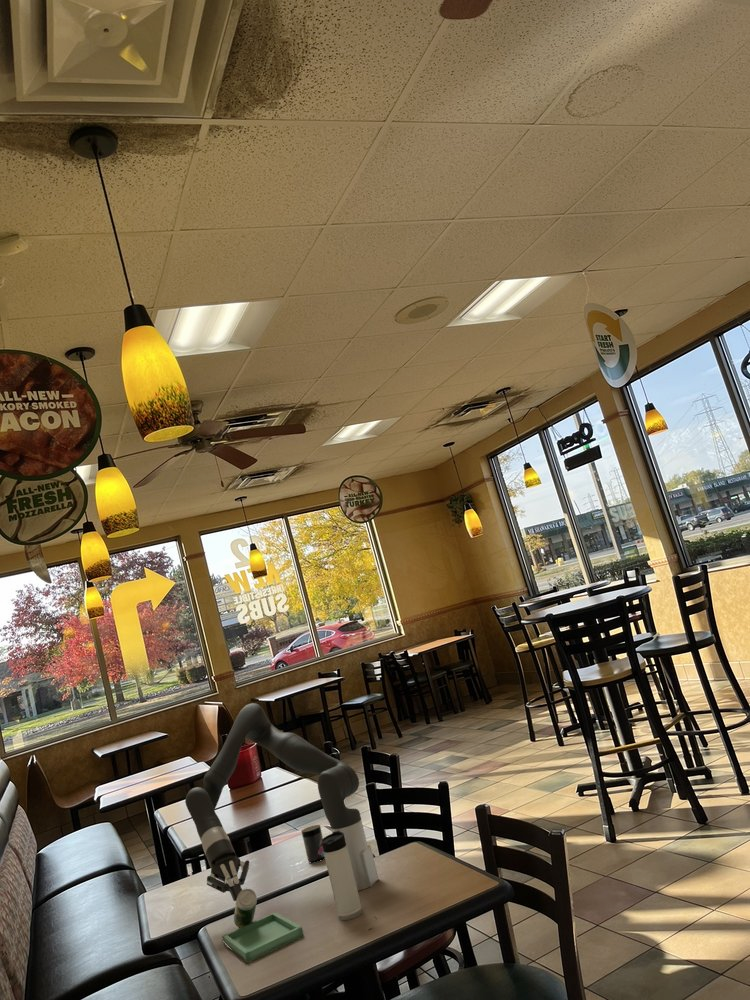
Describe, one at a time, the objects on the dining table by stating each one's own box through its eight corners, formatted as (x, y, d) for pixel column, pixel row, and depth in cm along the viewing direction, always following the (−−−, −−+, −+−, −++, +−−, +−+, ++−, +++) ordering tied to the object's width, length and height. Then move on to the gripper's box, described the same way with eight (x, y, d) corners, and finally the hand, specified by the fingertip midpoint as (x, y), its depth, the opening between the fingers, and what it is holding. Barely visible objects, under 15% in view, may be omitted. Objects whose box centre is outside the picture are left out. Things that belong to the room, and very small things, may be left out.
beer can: (242, 905, 201) (246, 883, 195) (257, 917, 199) (261, 896, 193) (229, 921, 197) (232, 899, 191) (244, 934, 196) (247, 913, 189)
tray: (224, 944, 191) (222, 935, 192) (276, 920, 199) (274, 912, 199) (247, 963, 174) (245, 953, 175) (303, 936, 182) (301, 926, 182)
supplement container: (318, 863, 244) (310, 831, 246) (304, 864, 248) (297, 832, 250) (331, 855, 249) (324, 824, 251) (317, 856, 253) (310, 825, 255)
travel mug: (366, 907, 190) (347, 828, 194) (357, 919, 184) (338, 837, 188) (345, 911, 192) (326, 832, 196) (335, 922, 186) (316, 841, 189)
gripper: (239, 847, 214) (261, 898, 201) (195, 865, 208) (215, 918, 195) (240, 830, 211) (263, 881, 198) (195, 847, 204) (216, 901, 191)
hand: (239, 899), depth 196 cm, fingers closed
